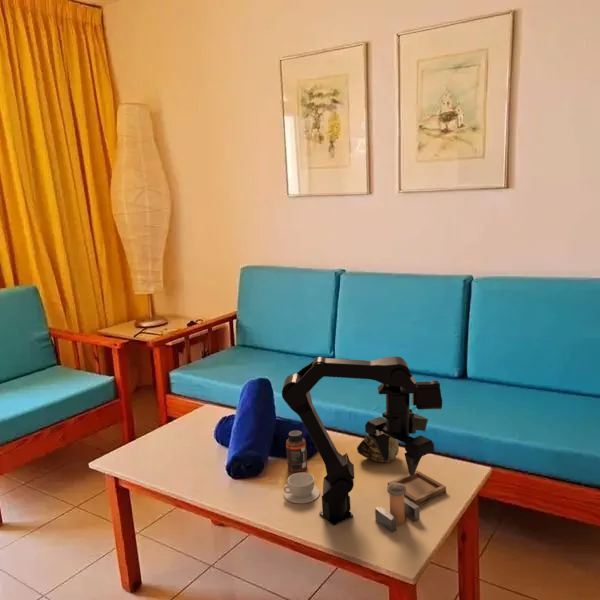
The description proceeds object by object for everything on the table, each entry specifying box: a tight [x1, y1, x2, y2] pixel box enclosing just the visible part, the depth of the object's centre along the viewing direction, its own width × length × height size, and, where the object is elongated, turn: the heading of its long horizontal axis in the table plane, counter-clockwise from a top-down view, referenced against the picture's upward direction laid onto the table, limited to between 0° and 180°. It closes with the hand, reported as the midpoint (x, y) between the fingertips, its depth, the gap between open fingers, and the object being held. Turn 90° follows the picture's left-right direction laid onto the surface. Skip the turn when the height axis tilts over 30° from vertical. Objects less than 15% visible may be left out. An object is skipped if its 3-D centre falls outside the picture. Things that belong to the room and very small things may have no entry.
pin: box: [386, 483, 406, 526], centre depth 139 cm, size 5×5×9 cm
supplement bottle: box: [285, 430, 308, 473], centre depth 167 cm, size 6×6×11 cm
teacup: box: [283, 472, 321, 504], centre depth 154 cm, size 10×10×5 cm
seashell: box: [356, 434, 400, 463], centre depth 170 cm, size 11×11×10 cm
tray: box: [387, 469, 447, 507], centre depth 152 cm, size 11×11×2 cm
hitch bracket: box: [374, 497, 421, 534], centre depth 139 cm, size 9×6×4 cm, turn 122°
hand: (398, 467), depth 139 cm, fingers open, 9 cm apart
